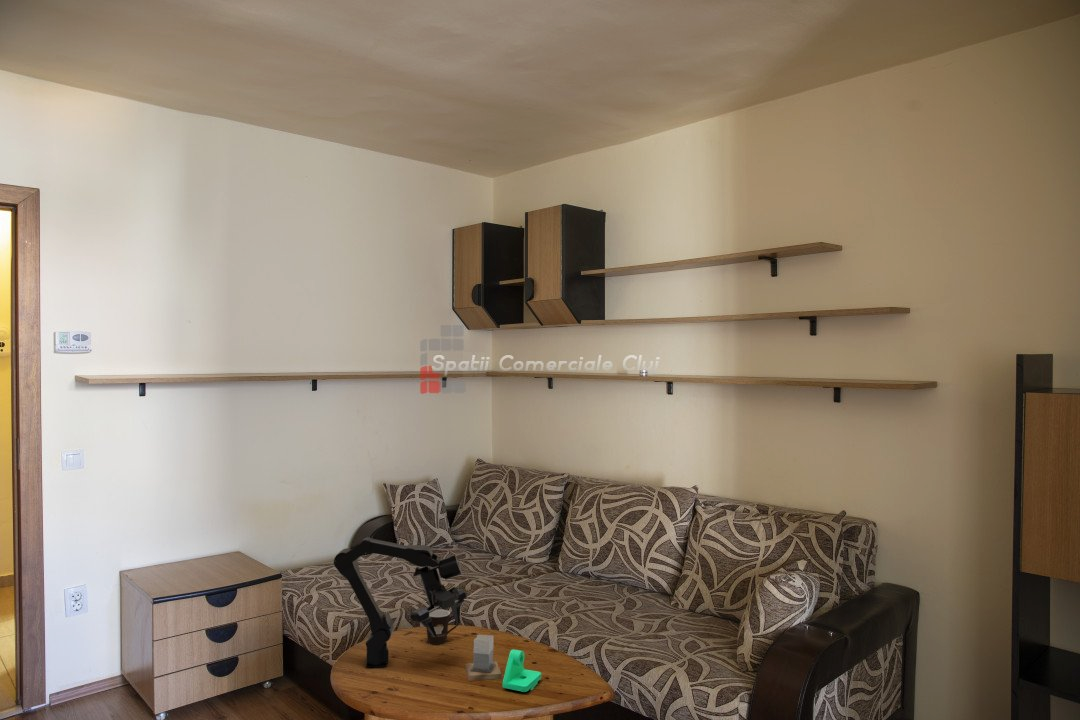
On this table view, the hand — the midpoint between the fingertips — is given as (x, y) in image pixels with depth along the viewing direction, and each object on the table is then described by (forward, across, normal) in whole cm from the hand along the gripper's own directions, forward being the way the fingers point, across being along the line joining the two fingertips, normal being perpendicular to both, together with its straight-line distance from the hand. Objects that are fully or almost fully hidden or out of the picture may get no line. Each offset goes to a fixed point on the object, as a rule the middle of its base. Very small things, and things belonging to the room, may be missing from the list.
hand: (447, 630), depth 237 cm
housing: (+13, +3, -11) cm, 17 cm away
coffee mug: (+9, +6, +21) cm, 23 cm away
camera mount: (+19, +6, -25) cm, 32 cm away
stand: (+14, +2, -11) cm, 18 cm away
